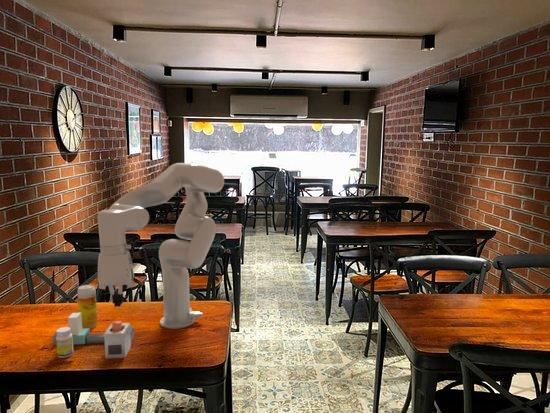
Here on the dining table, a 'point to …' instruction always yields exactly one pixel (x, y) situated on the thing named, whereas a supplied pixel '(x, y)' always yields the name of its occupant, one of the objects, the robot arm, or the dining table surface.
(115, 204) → the robot arm
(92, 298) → the beer can
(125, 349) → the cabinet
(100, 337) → the rail
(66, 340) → the supplement bottle
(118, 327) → the button
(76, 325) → the carriage
